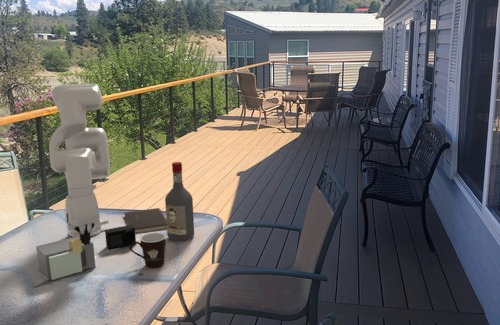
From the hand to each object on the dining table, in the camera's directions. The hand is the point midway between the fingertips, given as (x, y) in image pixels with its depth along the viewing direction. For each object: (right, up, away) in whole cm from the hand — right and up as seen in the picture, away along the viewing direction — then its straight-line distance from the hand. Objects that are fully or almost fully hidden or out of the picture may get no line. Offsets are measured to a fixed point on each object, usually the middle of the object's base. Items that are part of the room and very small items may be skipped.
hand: (85, 243), depth 176 cm
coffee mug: (+20, -8, +8) cm, 23 cm away
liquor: (+28, -3, +32) cm, 42 cm away
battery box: (-9, -10, +3) cm, 14 cm away
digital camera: (+6, -5, +24) cm, 25 cm away
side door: (-5, -10, -2) cm, 12 cm away
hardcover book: (+11, +1, +50) cm, 51 cm away
